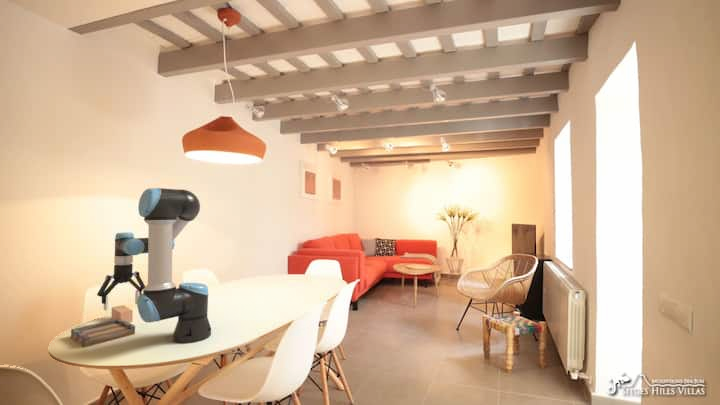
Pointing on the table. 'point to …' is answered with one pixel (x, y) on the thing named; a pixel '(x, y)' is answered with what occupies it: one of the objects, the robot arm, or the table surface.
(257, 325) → the table surface
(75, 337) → the wooden tray
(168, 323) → the table surface
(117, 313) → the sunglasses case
